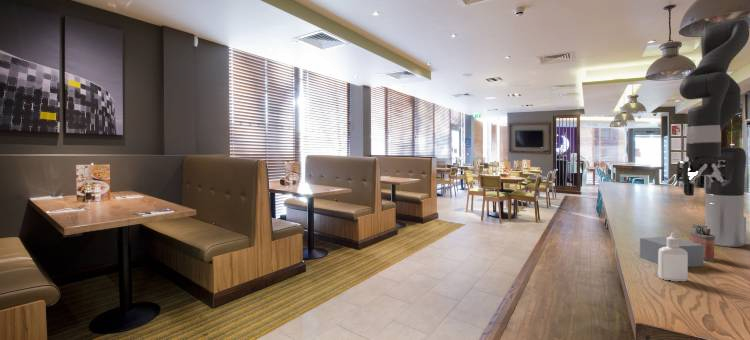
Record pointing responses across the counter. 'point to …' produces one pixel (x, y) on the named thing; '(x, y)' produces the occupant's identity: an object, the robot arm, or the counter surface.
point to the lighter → (704, 240)
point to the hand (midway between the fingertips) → (702, 195)
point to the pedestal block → (652, 245)
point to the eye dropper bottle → (673, 261)
